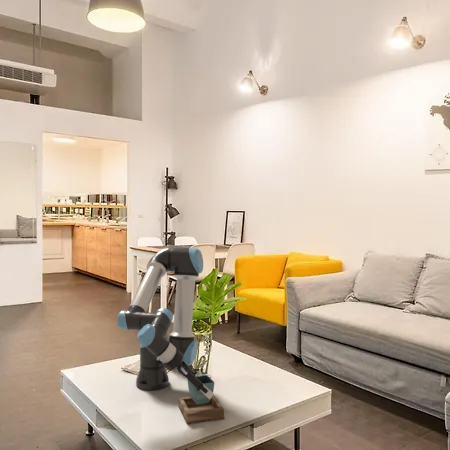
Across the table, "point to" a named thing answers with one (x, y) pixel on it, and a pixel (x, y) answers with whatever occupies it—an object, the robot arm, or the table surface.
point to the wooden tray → (201, 410)
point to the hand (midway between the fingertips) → (208, 391)
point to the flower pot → (198, 395)
